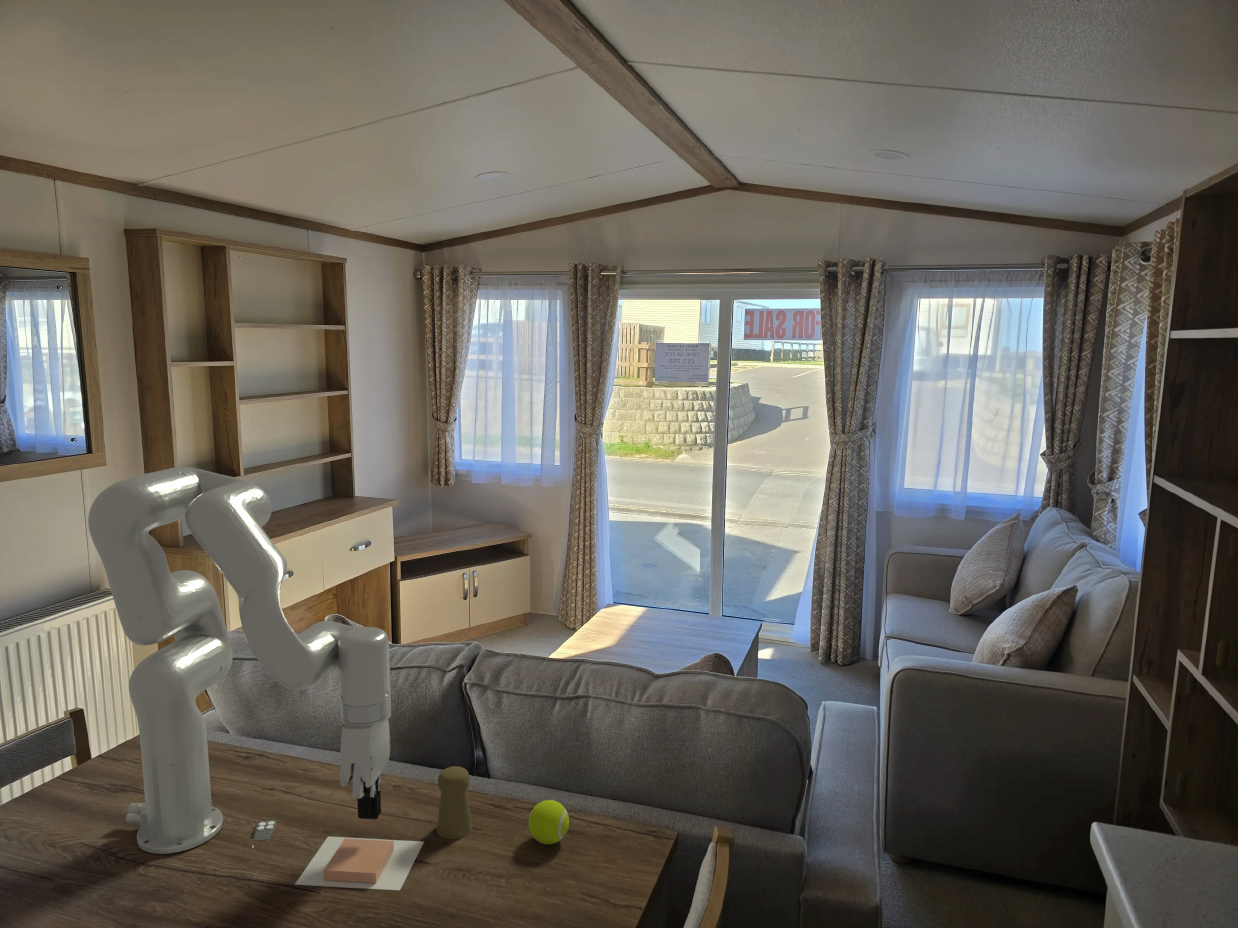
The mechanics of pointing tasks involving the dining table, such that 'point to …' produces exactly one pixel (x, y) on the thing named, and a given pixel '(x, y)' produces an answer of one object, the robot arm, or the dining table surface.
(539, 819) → the tennis ball
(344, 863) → the tile
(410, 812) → the dining table surface
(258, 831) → the key chain
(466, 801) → the cork
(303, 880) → the mat
